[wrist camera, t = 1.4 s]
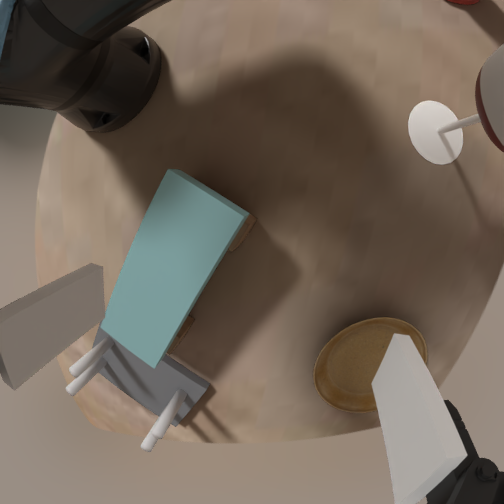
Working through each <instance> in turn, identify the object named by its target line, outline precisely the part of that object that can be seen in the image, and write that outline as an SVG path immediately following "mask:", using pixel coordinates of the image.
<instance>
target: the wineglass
mask: <svg viewBox="0 0 504 504" xmlns="http://www.w3.org/2000/svg"><path fill="white" fill-rule="evenodd" d="M475 98H476V106H477V111H478V114H475V115H472V116H470V117H467V118H464V119H461V120H458V119H457V118H456V116H455V115H454V113H453V112H452V111H451V110H450V109H449V108H448V107H446V106H445V105H443V104H441V103H439V102H435V101H430V100H429V101H424V102H421V103H419V104H418V105H416V106H415V107H414V108H413V110H412V112H411V113H410V116H409V121H408V129H409V135H410V138H411V141H412V144H413V145H414V147H415V148H416V150H417V151H418V153H419V154H420V155H422V156H423V157H424V158H425V159H426V160H428V161H430V162H432V163H434V164H440V165H444V164H448V163H451V162H452V161H454V160H455V159H456V158H457V157H458V155H459V154H460V152H461V150H462V145H463V132H462V129H461V128H463V127H466V126H469V125H473V124H476V123H479V122H481V123H482V126H483V128H484V130H485V132H486V133H487V135H488V137H489V138H490V140H491V141H492V142H493V143H494V144H495V145H496V146H497V147H498V148H499V149H500V150H501V151H502V152H504V43H503V44H502V45H501V46H500V47H499V48H498V49H497V50H496V51H495V52H494V53H493V54H492V55H491V56H490V57H489V58H488V59H487V60H486V62H485V63H484V65H483V66H482V68H481V70H480V72H479V75H478V78H477V81H476V90H475Z"/></svg>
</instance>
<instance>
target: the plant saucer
mask: <svg viewBox="0 0 504 504" xmlns="http://www.w3.org/2000/svg"><path fill="white" fill-rule="evenodd" d="M394 333H396V334H402V335H409V336H410V338H411V339H412V341H413V343H414V345H415V347H416V348H417V350H418V352H419V354H420V356H421V357H422V359H423V361H424V363H425V365H426V364H427V358H428V350H427V345H426V342H425V339H424V338H423V336H422V334H421V333H420V332H419V330H417V329H416V328H415V327H414V326H412V325H411V324H409V323H407V322H405V321H403V320H400V319H396V318H390V317H379V318H371V319H367V320H363V321H360V322H357V323H355V324H353V325H351V326H349V327H347V328H345V329H343V330H342V331H340V332H339V333H338V334H336V335H335V336H334V337H333V338H332V339H331V340H330V341H329V342H328V343H327V344H326V345H325V346H324V347H323V349H322V350H321V352H320V354H319V355H318V357H317V359H316V362H315V366H314V370H313V381H314V386H315V388H316V391H317V393H318V394H319V396H320V397H321V398H322V399H323V400H324V401H325V402H326V403H327V404H329V405H330V406H332V407H334V408H336V409H338V410H341V411H344V412H351V413H368V412H374V411H378V409H377V405H376V400H375V396H374V392H373V388H372V384H371V383H372V381H373V379H374V377H375V375H376V373H377V371H378V369H379V367H380V364H381V362H382V360H383V358H384V356H385V353H386V351H387V349H388V347H389V344H390V342H391V340H392V337H393V335H394Z"/></svg>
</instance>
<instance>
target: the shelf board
mask: <svg viewBox="0 0 504 504" xmlns="http://www.w3.org/2000/svg"><path fill="white" fill-rule="evenodd" d="M249 214H250V213H248V212H247V211H245V210H243V209H242V208H240V207H239V206H237V205H236V204H234V203H232V202H231V201H229V200H228V199H226V198H225V197H223V196H221V195H220V194H218V193H217V192H215V191H213V190H212V189H210V188H209V187H207V186H205V185H204V184H202V183H201V182H199V181H197V180H196V179H194V178H193V177H191V176H189V175H188V174H186V173H184V172H183V171H181V170H179V169H168V170H167V172H166V174H165V176H164V178H163V180H162V181H161V183H160V185H159V187H158V189H157V191H156V193H155V195H154V197H153V200H152V202H151V204H150V206H149V208H148V210H147V212H146V214H145V216H144V218H143V221H142V223H141V225H140V227H139V229H138V232H137V234H136V236H135V238H134V241H133V243H132V245H131V248H130V250H129V252H128V255H127V257H126V260H125V262H124V265H123V267H122V270H121V272H120V275H119V277H118V280H117V282H116V285H115V288H114V290H113V293H112V296H111V298H110V301H109V304H108V307H107V310H106V312H105V318H104V319H103V321H102V324H101V328H102V329H103V330H104V331H105V332H107V333H108V334H109V335H110V336H112V337H113V338H114V339H115V340H117V341H118V342H119V343H120V344H122V345H123V346H124V347H125V348H127V349H128V350H129V351H131V352H132V353H133V354H135V355H136V356H137V357H139V358H140V359H141V360H143V361H144V362H146V363H147V364H148V365H150V366H151V367H153V368H154V369H155V367H156V366H157V365H158V364H159V362H160V361H161V360H162V359H163V357H164V356H165V354H166V352H167V351H168V349H169V347H170V345H171V344H172V342H173V340H174V338H175V337H176V335H177V333H178V332H179V330H180V328H181V326H182V325H183V323H184V321H185V320H186V318H187V316H188V315H189V313H190V311H191V309H192V308H193V306H194V304H195V303H196V301H197V299H198V298H199V296H200V294H201V293H202V291H203V289H204V288H205V286H206V284H207V283H208V281H209V279H210V278H211V276H212V274H213V273H214V271H215V269H216V268H217V266H218V264H219V263H220V261H221V259H222V258H223V256H224V255H225V253H226V251H227V250H228V248H229V246H230V245H231V243H232V241H233V240H234V238H235V237H236V235H237V233H238V232H239V230H240V228H241V227H242V225H243V224H244V222H245V220H246V219H247V217H248V215H249Z"/></svg>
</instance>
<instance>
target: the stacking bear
mask: <svg viewBox="0 0 504 504" xmlns="http://www.w3.org/2000/svg"><path fill="white" fill-rule="evenodd" d="M447 1H450V2H454V3H458V4H466V5H468V4H475V3H477V2H478V1H479V0H447Z"/></svg>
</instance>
